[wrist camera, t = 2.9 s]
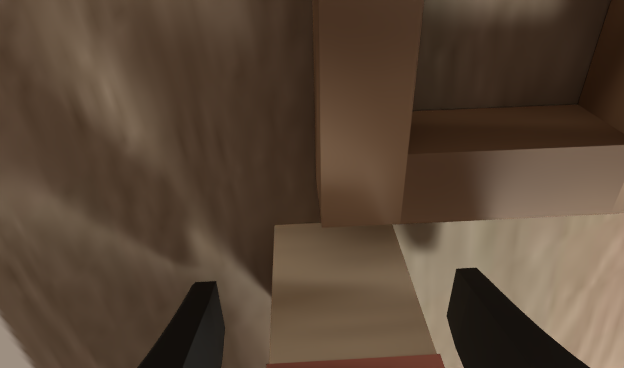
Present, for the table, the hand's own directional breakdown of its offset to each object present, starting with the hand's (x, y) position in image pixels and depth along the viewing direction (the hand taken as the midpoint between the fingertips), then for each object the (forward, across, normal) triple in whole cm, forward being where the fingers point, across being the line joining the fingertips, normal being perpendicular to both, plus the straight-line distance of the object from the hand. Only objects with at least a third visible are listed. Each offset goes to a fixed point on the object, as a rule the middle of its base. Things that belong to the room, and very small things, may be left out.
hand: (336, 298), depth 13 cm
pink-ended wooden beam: (+2, 0, 0) cm, 2 cm away
